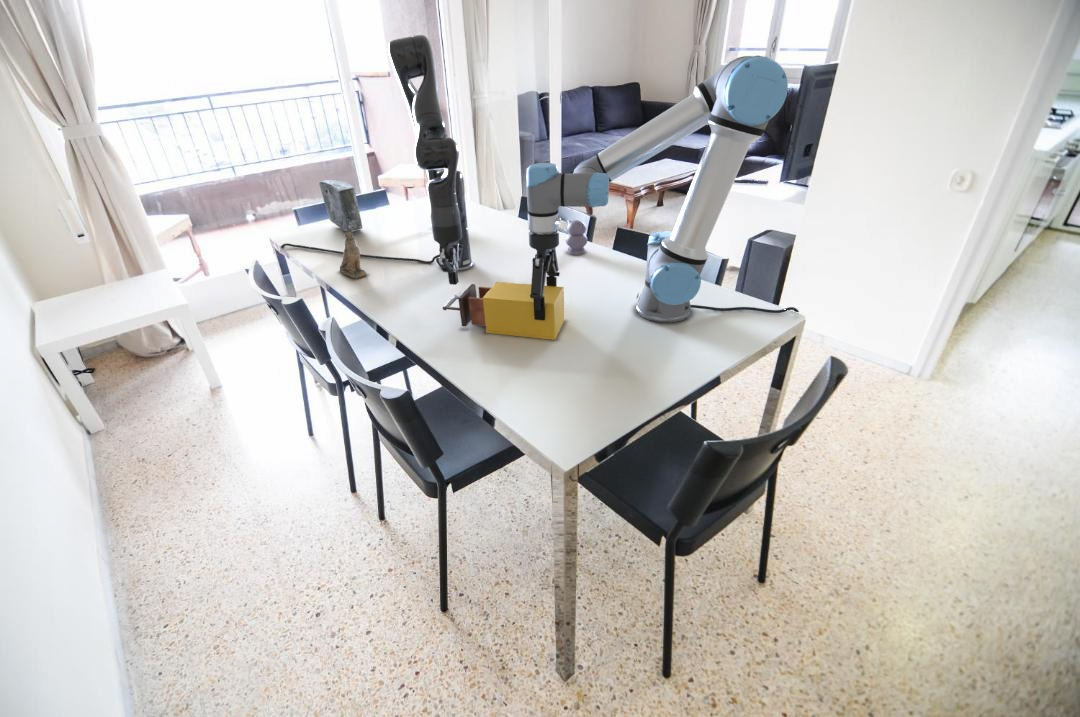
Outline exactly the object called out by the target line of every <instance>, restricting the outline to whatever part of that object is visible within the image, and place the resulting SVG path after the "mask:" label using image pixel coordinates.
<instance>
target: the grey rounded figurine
mask: <svg viewBox="0 0 1080 717" xmlns="http://www.w3.org/2000/svg"><path fill="white" fill-rule="evenodd" d="M566 221H567V227H566V228H567V229H566V230H567V233H568V234H567V235H566V237H565V243H566V245H567V246H568V247H567V253H568V254H569V255H573V256H578V255H582V254H584V253H585V247H586V245H587V243H588V237H587V235H586V234H585V233H586V230H587V226H586V224H585V223H584V222H583V221H582V220H578V219H574V220H569V219H566Z"/></svg>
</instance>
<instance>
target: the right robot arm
mask: <svg viewBox="0 0 1080 717" xmlns="http://www.w3.org/2000/svg"><path fill="white" fill-rule="evenodd" d="M788 82H789V81H788V77H787V74H786V71H785V69H784V68H783V67H782V65H781V64H780V63H779V62H777V61H775V60H774V59H773V58H770V57H768V56H762V55H743V56H739V57H737V58H735V59H732V60H731V61H729V62H728V63H727V64H725V65H724V66H722V67H721V68H720V69H718V71H716V72H715V73H713V74H712V75H710V76H709V77H708V78H706V79H705V80H703V81H702V82H700V83H699V84H696V86H694V89H693V91H692V93H691V94H690V95H689V96H687V97H686V98H684V99H682V100H681V101H679V102H677V103H675V104H674V105H673V106H671V107H669V108H668V109H666V110H664V111H663V112H661V113H660V114H659V115H657V116H655V117H653V118H652V119H650V120H649V121H647V122H646V123H644V124H643V125H641V126H639V127H638V128H636V129H634V130H633V131H631V132H630V133H629V134H627V135H625V136H623V137H622V138H620V139H619V140H617V141H615V142H614V143H612V144H611V145H609V146H608V147H606V148H605V149H603V150H602V151H600V152H598V153H597V154H596V155H593V156H592V157H591V158H589V159H585V160H583V161H580V162H579V164H577V165H576V166H575V168H574V170H573V171H572V173H571V172H569V173H562V172H560V171H559V167H558V165H557V164H556V163H551V162H550V163H549V162H538V163H533V164H530V165H529V166H528V167H527V168H526V186H525V189H526V201H527V202H526V203H527V226H528V227H527V228H528V231H529V232H528V245H529V247H530V248H532V249H534V250H536V254H535V255H534V257H533V258H532V260H531V261H532V272H531V294H530V297H531V298H533V299H534V320H545V297H544V296H543V293H544V286H557V287H558V285H557V284H558V283H557V282H558V281H557V279H558V278H557V277H560V275H561V274H560V273H561V272H560V271H559V263H558V257H557V256H558V255H557V251H556V249H557V247H559V245H560V231H559V228H560V227H559V225H560V224H559V222H561V221H562V219H561V217H559V207H571V208H572V207H573V208H574V207H575V208H587V207H588V208H599V207H606V206H607V205H608V203H609V191H610V183H611V182H613V181H615V180H616V179H617V178H620V177H621V176H622V175H624V174H626V173H628V172H629V171H631V170H632V169H634V168H637V167H638V166H639V165H641V164H642V163H645V162H646V161H648V160H649V159H651V158H652V157H655V156H656V155H658V154H660V153H661V152H663V151H665V150H667V149H668V148H670V147H671V146H673V145H674V144H676V143H677V142H680V141H681V140H683V139H685V138H686V137H688V136H689V135H692V134H693V133H695V132H697V131H698V130H700V129H701V128H703V127H705V126H708V125H709V128H710V131H711V133H710V135H709V138H708V140H707V143H706V145H705V147H704V150H703V153H702V156H701V158H700V161H699V163H698V166H697V168H696V171H695V173H694V176H693V179H692V180H691V183H690V186H689V187H688V188H689V189H688V191H687V194H686V196H685V198H684V201H683V203H682V207H681V208H680V212H679V214H678V217H677V219H676V222H675V224H674V227H673V230H671V231H670V230H669V231H666V230H663V231H656V232H653V233H651V234H650V235H649V236H648V241H647V244H646V245H647V253H646V254H647V255H646V263H645V264H646V266H645V276H644V278H645V279H644V286H643V288H642V290H641V293H640V292H638V293H637V295H636V299H637V303H636V312H637V314H638V315H639V316H640V317H642V318H643V319H646V320H648V321H652V322H656V323H678V322H680V321H683V320H686V319H688V318H689V316H690V315H691V311H692V310H691V309H692V308H693V309H701V310H708V311H716V312H731V311H755V312H762V313H770V314H781V313H785V312H788V311H794V312H795V313H799V309H798V308H796V307H794V306H788V307H785V308H781V309H768V308H761V307H752V306H737V307H714V306H708V305H707V306H706V305H697V304H691V301H692V300H693V299H694V298H695V297H696V296H697V294H698V293H699V291H700V289H701V284H702V277H701V274H702V272H703V270H704V267H705V265H706V263H707V260H708V258H709V253H708V251H707V249H706V247H707V245H708V242H709V240H710V237H711V235H712V233H713V231H714V228H715V226H716V225H717V224H716V223H717V221H718V220H719V217H720V215H721V212H722V211H723V208H724V205H725V203H726V201H727V198H728V196H729V194H730V192H731V189H732V187H733V185H734V183H735V180H736V179H737V176H738V173H739V171H740V170H741V166H742V164H743V162H744V159H745V158H746V155H747V153H748V150H749V148H750V146H751V144H752V143H754V142H756V141H758V140H760V139H761V138H762V137H763V134H764V132H765V130H766V128H767V126H768V124H769V121H770V120H771V119H772V118H774V116H776V115H777V113H778V112H780V110H781V108H782V107H783V105H784V104H785V101H786V99H787V96H788V90H789V83H788ZM545 284H546V285H545ZM639 293H640V295H639ZM784 309H786V310H784ZM787 310H788V311H787Z"/></svg>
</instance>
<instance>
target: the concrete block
mask: <svg viewBox="0 0 1080 717" xmlns="http://www.w3.org/2000/svg"><path fill="white" fill-rule="evenodd" d="M318 185H319V187H320V192H321V195H322V199H323V202H324V206H325V209H326V214H327V217H328V219H329V221H330V222H331V223H333V224H334V225H336V226H337V228H339V229H341V231H344V233H345V232H346V231H348V230H350V231H352V233H353V232H355V231H360V230H362V229H363V222H362V219H361V218H362V217H361V213H360V209H359V205H358V198H357V193H356V190H355V187H354V185H352V184H350V183H349V182H346V181H344V180H340V179H337V178H335V179H334V178H333V179H325V180H322V181H319V184H318Z"/></svg>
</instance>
